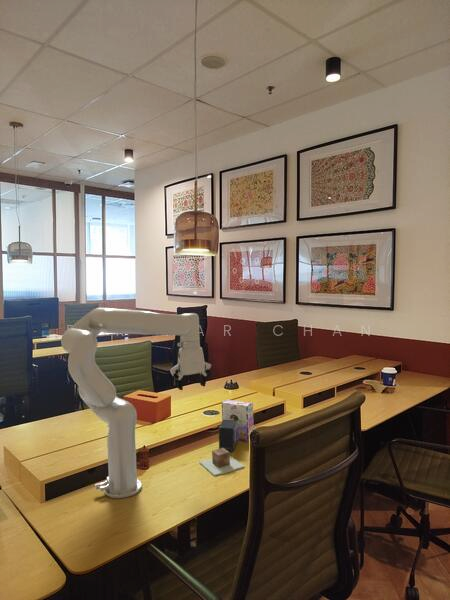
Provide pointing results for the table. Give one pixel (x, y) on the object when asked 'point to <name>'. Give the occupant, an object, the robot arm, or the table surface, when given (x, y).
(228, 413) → the candy box
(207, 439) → the table surface
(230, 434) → the small box
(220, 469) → the mat
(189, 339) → the robot arm
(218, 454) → the cube
